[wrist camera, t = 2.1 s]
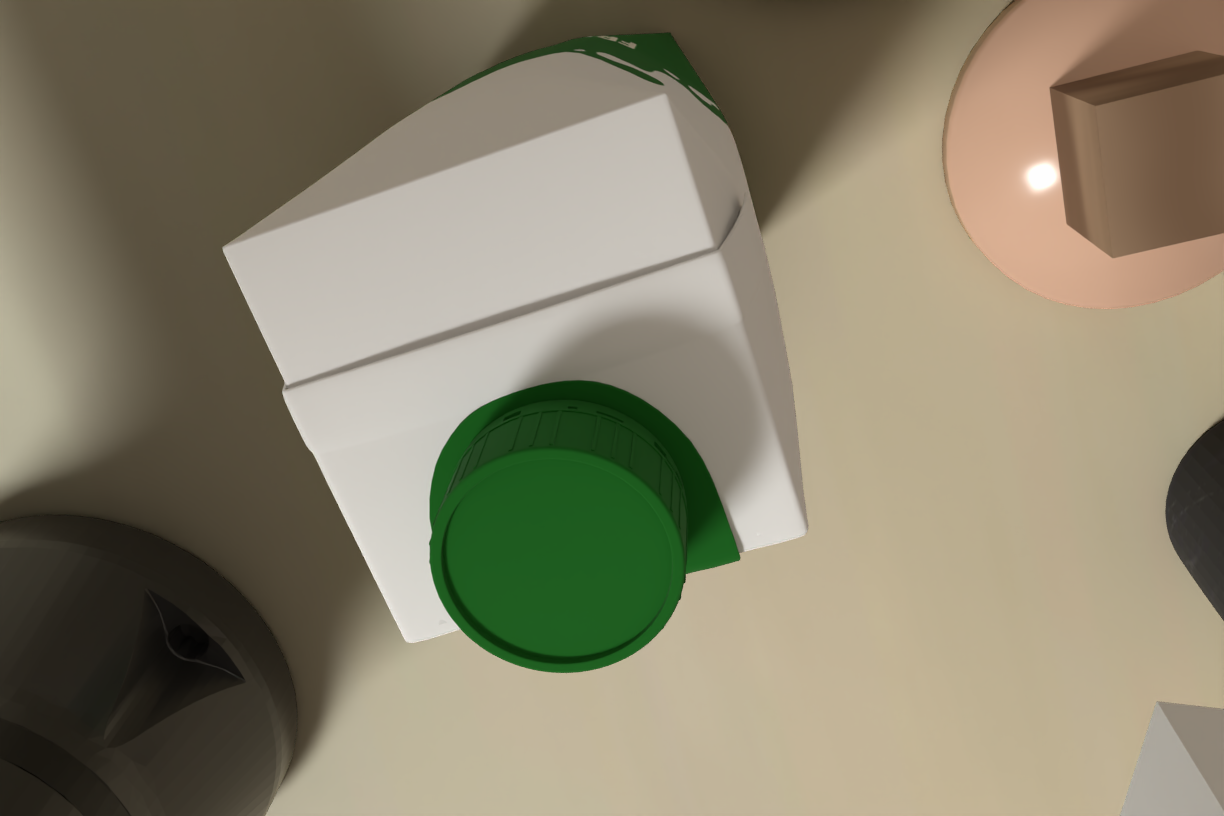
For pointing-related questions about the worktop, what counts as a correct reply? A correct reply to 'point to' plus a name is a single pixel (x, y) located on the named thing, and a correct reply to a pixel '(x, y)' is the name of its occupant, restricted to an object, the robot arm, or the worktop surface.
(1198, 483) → the travel mug
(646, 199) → the soya milk
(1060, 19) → the terracotta dish
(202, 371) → the worktop surface
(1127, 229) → the walnut block
